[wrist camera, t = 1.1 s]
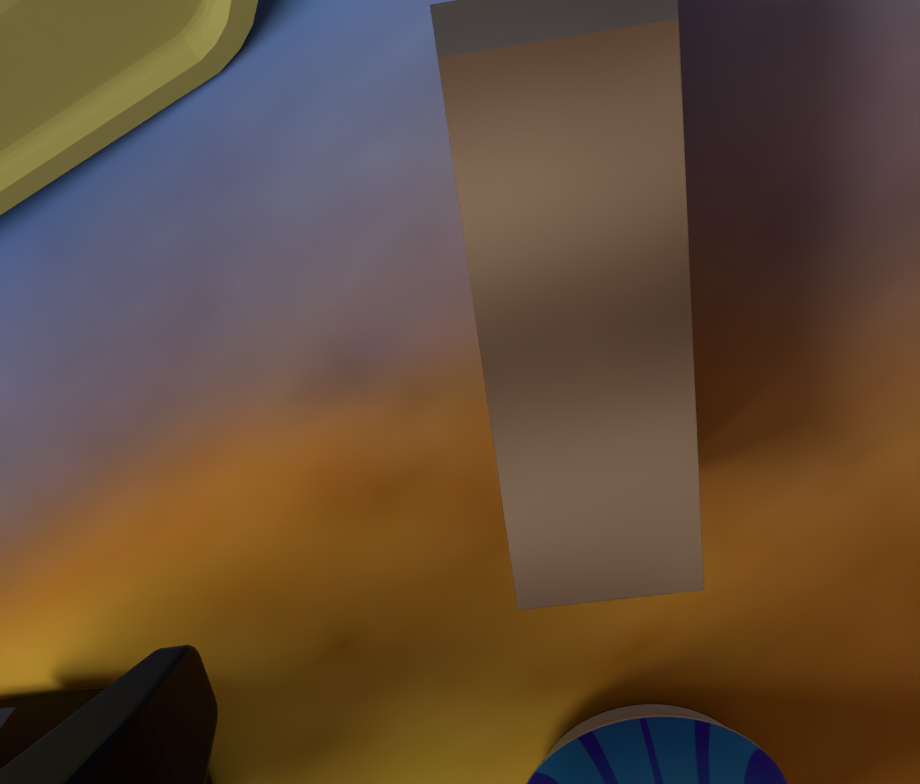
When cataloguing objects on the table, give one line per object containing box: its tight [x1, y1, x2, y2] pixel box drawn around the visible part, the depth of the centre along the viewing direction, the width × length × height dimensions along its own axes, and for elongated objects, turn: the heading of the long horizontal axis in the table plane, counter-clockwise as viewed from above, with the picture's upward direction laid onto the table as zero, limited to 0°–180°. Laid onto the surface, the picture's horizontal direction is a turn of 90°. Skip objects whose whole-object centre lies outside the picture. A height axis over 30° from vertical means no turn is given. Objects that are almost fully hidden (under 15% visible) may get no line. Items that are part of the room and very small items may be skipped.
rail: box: [430, 0, 704, 610], centre depth 17 cm, size 12×4×5 cm, turn 8°
